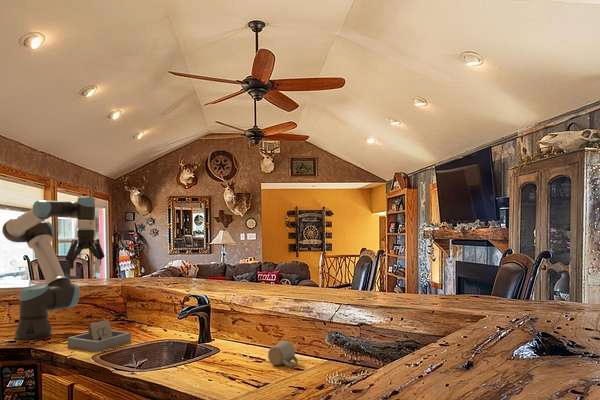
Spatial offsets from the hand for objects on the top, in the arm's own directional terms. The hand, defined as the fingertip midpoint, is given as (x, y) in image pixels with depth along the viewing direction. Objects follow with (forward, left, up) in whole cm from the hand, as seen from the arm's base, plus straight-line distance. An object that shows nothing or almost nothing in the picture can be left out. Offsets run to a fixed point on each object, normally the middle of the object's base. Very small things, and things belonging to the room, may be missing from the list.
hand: (85, 274), depth 222 cm
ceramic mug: (+105, 0, -29) cm, 109 cm away
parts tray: (+19, -8, -29) cm, 35 cm away
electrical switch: (+19, -8, -28) cm, 35 cm away
